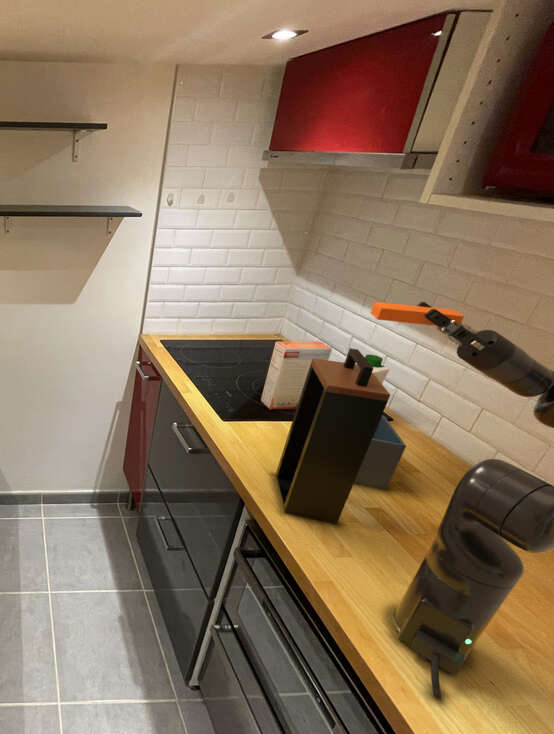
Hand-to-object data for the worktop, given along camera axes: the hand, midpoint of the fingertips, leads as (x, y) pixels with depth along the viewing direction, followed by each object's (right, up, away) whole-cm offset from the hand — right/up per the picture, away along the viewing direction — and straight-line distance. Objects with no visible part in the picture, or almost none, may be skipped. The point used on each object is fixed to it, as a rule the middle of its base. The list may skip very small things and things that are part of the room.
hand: (424, 309), depth 93 cm
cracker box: (-1, -26, +47) cm, 54 cm away
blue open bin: (-2, -38, +20) cm, 43 cm away
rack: (-19, -43, +9) cm, 48 cm away
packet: (-1, -2, +1) cm, 3 cm away
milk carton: (+13, -29, +41) cm, 52 cm away
